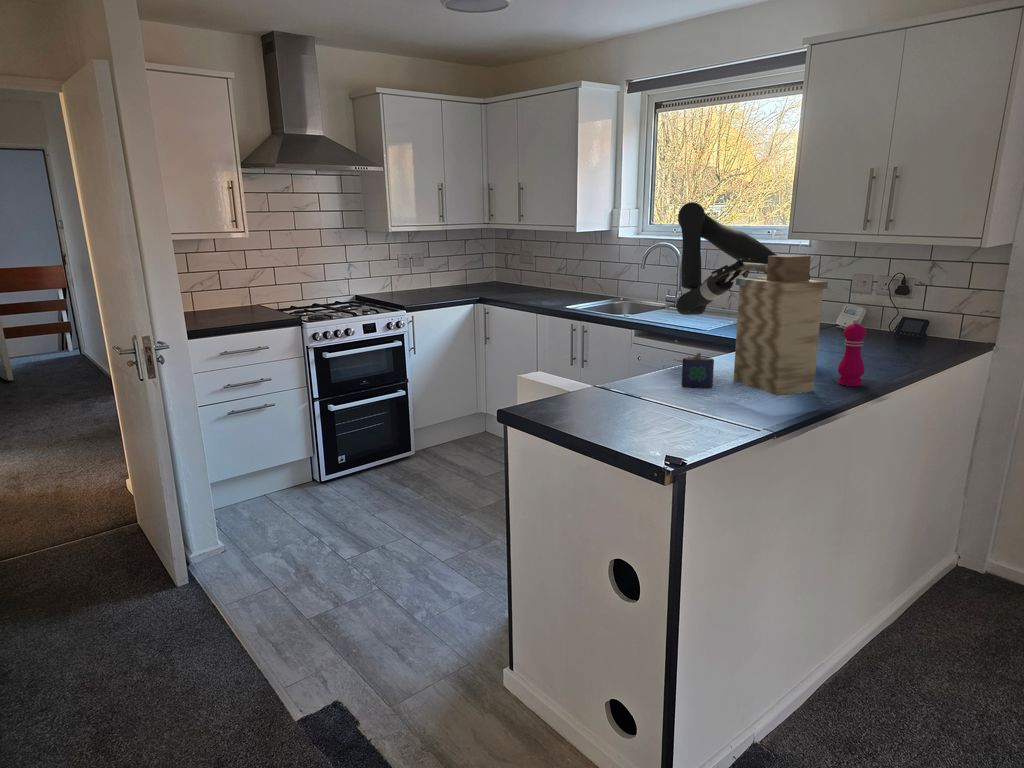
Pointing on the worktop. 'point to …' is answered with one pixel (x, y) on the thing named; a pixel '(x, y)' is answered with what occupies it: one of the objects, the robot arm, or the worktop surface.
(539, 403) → the worktop surface
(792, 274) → the wooden mallet
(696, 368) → the flask
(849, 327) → the pepper mill
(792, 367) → the stand
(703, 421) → the worktop surface
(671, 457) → the worktop surface
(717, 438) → the worktop surface
